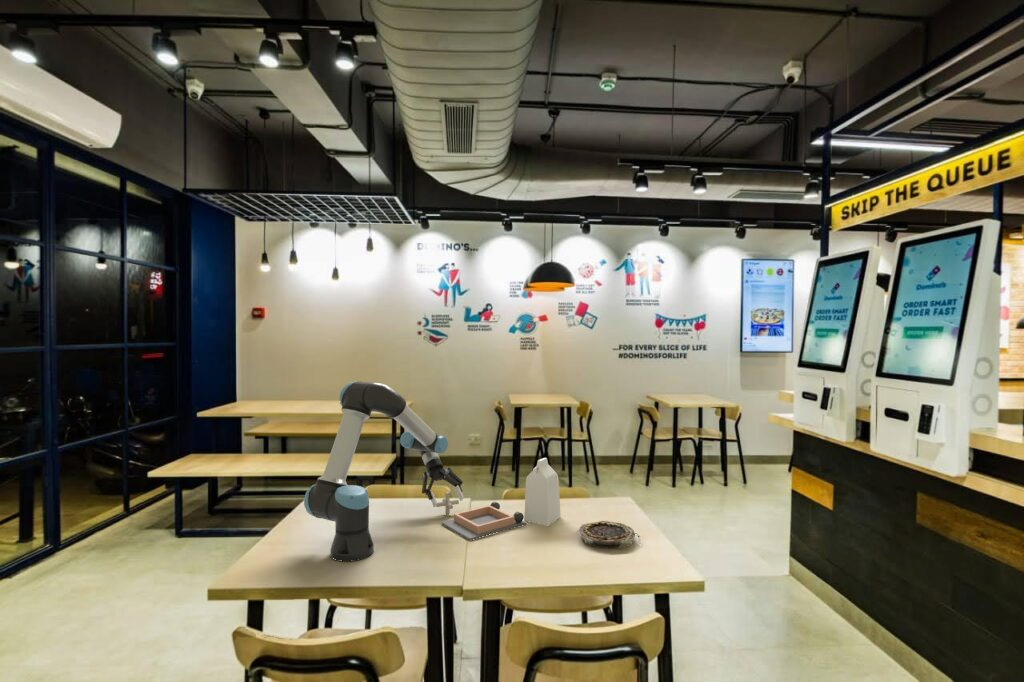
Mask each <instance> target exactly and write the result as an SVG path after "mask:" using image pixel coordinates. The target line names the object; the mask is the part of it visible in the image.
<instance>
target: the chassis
mask: <svg viewBox="0 0 1024 682" xmlns="http://www.w3.org/2000/svg"><path fill="white" fill-rule="evenodd" d="M442 524H443V525H445V526H446V527H445V526H444V527H445V528H447V527H448V528H449V529H448V528H447V529H448V530H450V529H451V531H452V530H453V531H454V532H453V531H452V532H453V533H455V532H456V534H457V533H458V534H457V535H459V536H460V535H461V537H463V538H464V539H465V540H468V541H469V540H472V541H474V540H473V539H475V540H477V539H476V538H479V537H482V536H486V535H489V534H493V533H496V532H500V531H503V530H507V529H510V530H512V529H511V528H514V527H517V528H519V527H518V526H521V527H523V526H522V525H524V526H526V525H527V521H524V514H523V513H522V512H520V511H515V513H514V514H513V515H512V514H510V513H507V512H505V511H504V510H501V505H500V503H499V502H497V501H492V502H491V503H490V505H485V506H481V507H477V508H473V509H468V510H464V511H461V512H455V513H453V519H449V520H446V521H442V522H441V525H442ZM443 525H442V526H443ZM514 529H515V528H514ZM507 531H508V530H507ZM503 532H504V531H503ZM500 533H501V532H500ZM496 534H497V533H496ZM493 535H494V534H493ZM489 536H490V535H489ZM486 537H487V536H486ZM482 538H483V537H482ZM479 539H480V538H479Z"/></svg>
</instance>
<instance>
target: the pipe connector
mask: <svg viewBox="0 0 1024 682" xmlns="http://www.w3.org/2000/svg"><path fill="white" fill-rule="evenodd" d="M444 495H445V498H442V500H441V501H440V502H439V501H438V502H437V505H436V507H435V508H439V507H445V514H446V515H448V516H450V515H449V514H451V513H450V512H451V510H453V508H454V506H453V505H459V504H460V503H459V501H460V500H459V499H456V500H455V499H453V500H451V499H450V491H446V492H445V493H444ZM446 515H445V516H446Z"/></svg>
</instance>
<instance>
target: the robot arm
mask: <svg viewBox="0 0 1024 682" xmlns="http://www.w3.org/2000/svg"><path fill="white" fill-rule="evenodd" d="M339 403H340V406H341V409H340V411H341V413H342V418H341V422H340V424H339V427H338V430H337V434H336V436H335V438H334V442H333V445H332V448H331V451H330V454H329V457H328V460H327V462H326V465H325V468H324V471H323V474H322V475H321V476H319V477H318V478H317V480H316V483H315V484H313V485H311V486H310V487H309V488H308V489H307V490H306V492H305V495H304V498H303V506H304V508H305V511H306V512H307V514H309V515H310V516H311V517H315V518H317V519H323V520H326V521H331V522H334V523H335V533H334V537H333V540H332V543H331V547H330V553H329V554H330V555H331V556H330V555H329V556H330V558H331V557H332V558H334V559H336V560H335V561H337V560H342V561H341V562H352V561H351V560H356V561H359V560H358V559H360V560H362V559H361V558H363V559H366V558H368V557H369V555H370V554H371V555H372V554H373V553H374V551H375V549H374V545H375V544H374V541H373V538H372V535H371V533H370V527H369V526H370V523H369V520H370V519H369V518H370V498H369V492H368V490H367V489H366V488H364V487H363V486H361V485H355V484H354V485H351V484H349V485H348V483H347V481H346V480H347V478H348V477H347V476H348V473H349V470H350V467H351V464H352V461H353V458H354V455H355V453H356V449H357V445H358V444H359V443H358V442H359V439H360V436H361V433H362V430H363V427H364V424H365V422H366V421H367V420H368V419H370V417H371V414H372V412H377V413H379V414H380V413H381V414H383V415H385V416H386V417H387V418H389V419H393V420H395V421H396V422H397V423H398V424H399V425H400V426H401V427H402V428H403V429H405V430H406V431H404V432H403V433H402V434H401V435H400V439H399V443H400V445H401V446H402V447H403V448H405V449H407V450H408V449H409V450H412V451H416V452H419V454H420V456H421V458H422V462H423V464H424V466H425V468H426V471H424V472H423V473H422V479H423V480H422V488H421V493H422V494H423V495H424V494H425V495H426V496H427V498H428V500H429V501H431V503H432V504H431V505H432V507H433V508H437V507H436V505H437V503H438V502H437V500H436V497H435V493H434V492H433V490H432V487H433V485H434V482H435V481H436V482H439V481H442V480H443V481H446V483H448V484H450V485H452V486H454V487H455V488H454V489H455V492H456V495H457V497H458V500H459V501H460V502H462V501H463V500H464V497H465V496H464V495H463V489H462V484H463V483H464V482H463V480H462V479H461V478H460V477H459V476H458V475H456V473H454V472H453V471H452V469H451V467H447V468H446V469H445V468H444V465H443V463H442V461H441V459H440V457H441V456H440V455H439V454H442V453H443V454H444V453H445V452H446V451H447V449H448V447H449V441H448V438H447V436H443V435H438V434H437V433H436V432H435V431H434V430H433V429H432V428H431V427H430V426H429V425H428V424H427V423H426V422H425V421H424V420H423V419H422V418H421V417H420V416H419V415H418V414H416V413H415V411H414V410H413V409H411V408H410V407H409V406H408V404H407V401H406V399H405V398H404V397H402V395H401V394H399V392H397V391H396V390H395V389H393V388H391V386H389V385H387V384H385V383H382V382H369V381H361V380H360V381H358V380H357V381H351V382H349V383H347V384H346V385H345V386H344V387H343V388H342V389H341V392H340V393H339ZM428 478H431V479H430V482H429V484H428ZM427 485H428V487H427ZM371 555H370V556H371ZM367 556H368V557H367ZM365 557H366V558H365ZM332 558H331V559H332ZM334 559H333V560H334Z"/></svg>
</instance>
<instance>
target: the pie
mask: <svg viewBox="0 0 1024 682" xmlns="http://www.w3.org/2000/svg"><path fill="white" fill-rule="evenodd" d="M578 532H579V535H580V536H581V537H582V539H583V540H584V543H585V544H587V545H590V546H593V547H595V548H601V549H604V548H605V549H622V548H625V547H624V546H626V547H631V546H632V544H633V543H632V542H633V540H634V538H635V536H637V535H639V533H636V532H635V530H634V529H633V528H632V527H631V526H629V525H627V524H625V523H621V522H617V521H616V522H615V521H609V520H599V521H595V522H593V521H592V522H588V523H586V524H585V523H584V524H581V526H580V527H579V530H578ZM635 534H637V535H635ZM631 543H632V544H631ZM639 544H641V545H642V546H643V543H642V542H641V538H640V535H639ZM639 544H638V545H639ZM630 545H631V546H630ZM621 547H622V548H621Z"/></svg>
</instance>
